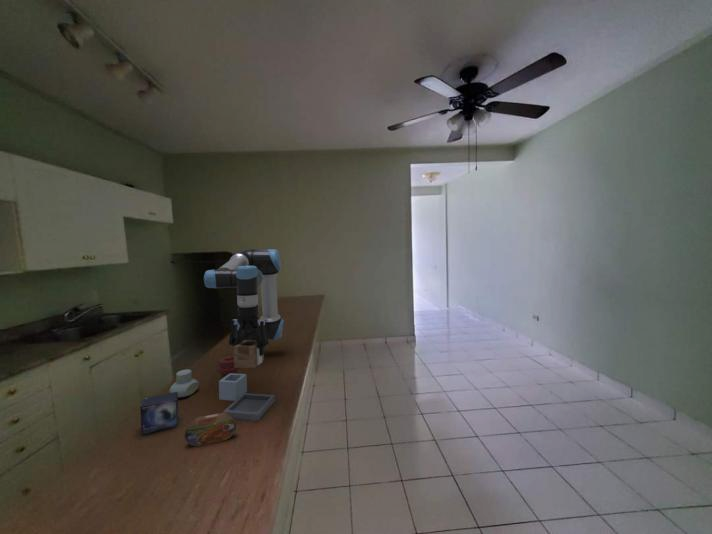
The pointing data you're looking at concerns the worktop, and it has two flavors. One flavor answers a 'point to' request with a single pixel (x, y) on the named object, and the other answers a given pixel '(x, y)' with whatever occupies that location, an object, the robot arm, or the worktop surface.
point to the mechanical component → (227, 366)
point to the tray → (250, 406)
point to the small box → (159, 413)
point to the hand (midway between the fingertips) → (249, 362)
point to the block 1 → (232, 386)
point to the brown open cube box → (246, 354)
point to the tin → (210, 429)
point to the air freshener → (184, 384)
